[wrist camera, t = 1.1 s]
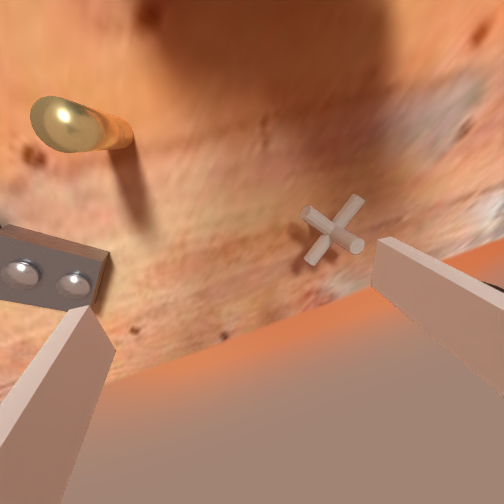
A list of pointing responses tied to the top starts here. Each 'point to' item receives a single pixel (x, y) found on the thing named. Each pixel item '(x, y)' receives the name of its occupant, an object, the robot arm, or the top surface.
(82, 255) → the chain end
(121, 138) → the pin
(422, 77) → the top surface
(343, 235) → the pipe connector
